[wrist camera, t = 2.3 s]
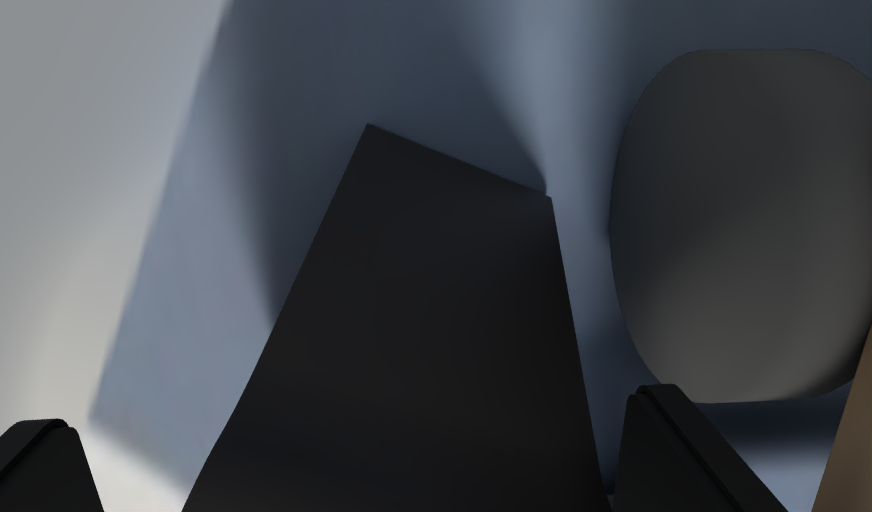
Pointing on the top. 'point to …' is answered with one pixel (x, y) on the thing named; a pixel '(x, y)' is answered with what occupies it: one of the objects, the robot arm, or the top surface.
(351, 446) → the phone stand
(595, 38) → the top surface
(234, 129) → the top surface
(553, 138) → the top surface
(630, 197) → the trolley
